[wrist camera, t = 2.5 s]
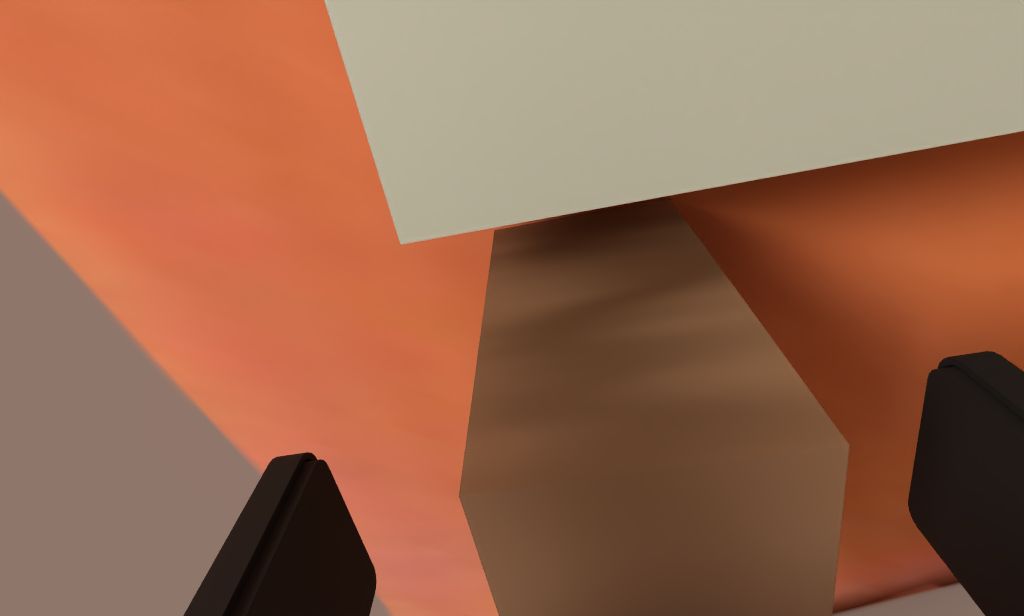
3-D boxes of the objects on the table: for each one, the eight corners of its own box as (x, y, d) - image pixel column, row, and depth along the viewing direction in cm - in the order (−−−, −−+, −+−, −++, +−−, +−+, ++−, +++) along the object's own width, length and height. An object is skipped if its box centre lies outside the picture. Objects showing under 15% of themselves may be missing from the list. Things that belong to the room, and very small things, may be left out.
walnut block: (669, 198, 13) (850, 444, 6) (680, 347, 15) (825, 673, 8) (494, 230, 13) (458, 495, 6) (526, 371, 15) (527, 699, 8)
